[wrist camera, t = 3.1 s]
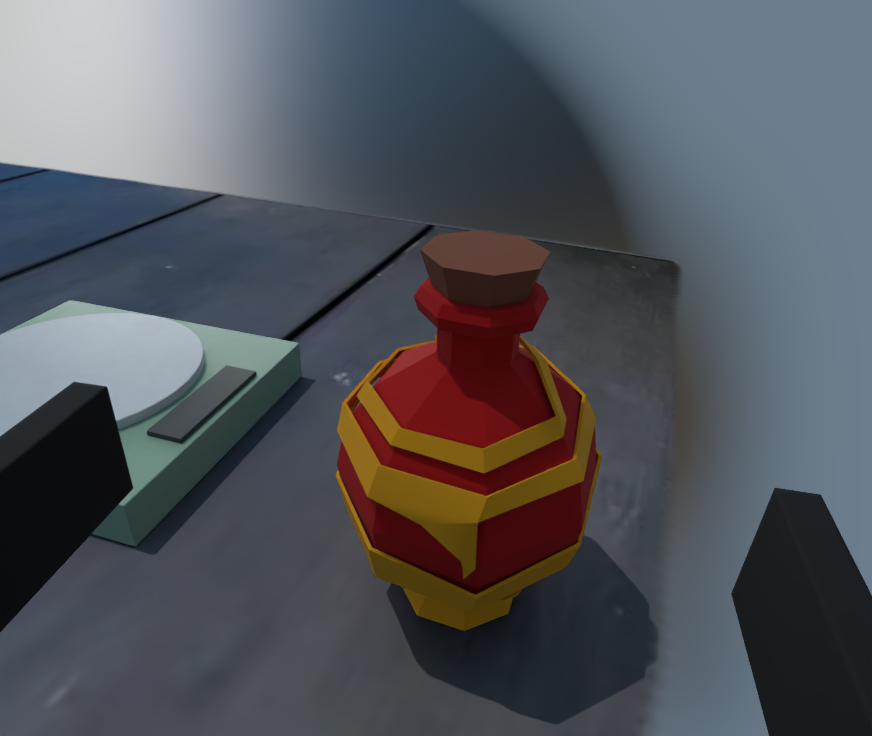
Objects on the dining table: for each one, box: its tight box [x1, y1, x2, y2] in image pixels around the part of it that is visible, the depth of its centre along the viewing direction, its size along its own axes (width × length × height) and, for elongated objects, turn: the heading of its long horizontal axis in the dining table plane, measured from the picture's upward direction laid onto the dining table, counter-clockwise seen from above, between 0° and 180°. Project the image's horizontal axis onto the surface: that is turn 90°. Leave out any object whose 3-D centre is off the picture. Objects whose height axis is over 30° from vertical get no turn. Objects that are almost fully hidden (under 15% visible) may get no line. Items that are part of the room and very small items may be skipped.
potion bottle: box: [336, 230, 602, 631], centre depth 24 cm, size 10×10×15 cm
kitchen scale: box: [0, 300, 302, 546], centre depth 36 cm, size 18×16×3 cm
